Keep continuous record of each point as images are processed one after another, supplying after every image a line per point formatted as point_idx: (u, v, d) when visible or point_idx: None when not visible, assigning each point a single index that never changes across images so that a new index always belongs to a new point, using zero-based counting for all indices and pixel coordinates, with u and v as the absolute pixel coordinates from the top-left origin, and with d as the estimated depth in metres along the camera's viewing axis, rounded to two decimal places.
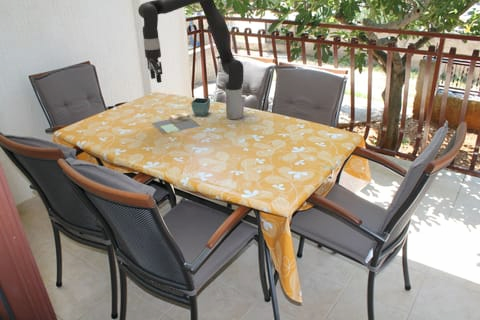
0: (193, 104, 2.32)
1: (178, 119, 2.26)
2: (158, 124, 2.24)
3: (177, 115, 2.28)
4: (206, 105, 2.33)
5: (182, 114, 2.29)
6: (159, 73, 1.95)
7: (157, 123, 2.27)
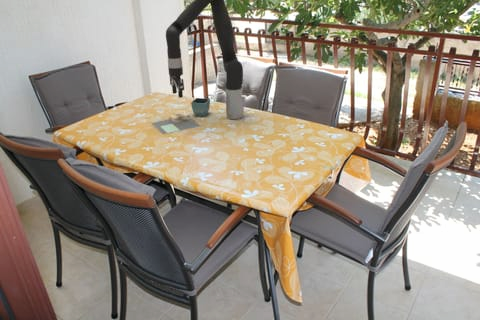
0: (193, 104, 2.32)
1: (178, 119, 2.26)
2: (158, 124, 2.24)
3: (177, 115, 2.28)
4: (206, 105, 2.33)
5: (182, 114, 2.29)
6: (181, 89, 2.15)
7: (157, 123, 2.27)
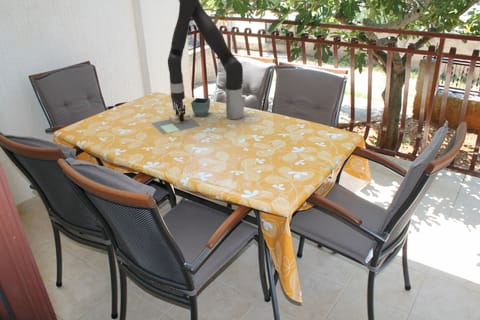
0: (193, 104, 2.32)
1: (178, 119, 2.26)
2: (158, 124, 2.24)
3: (177, 115, 2.28)
4: (206, 105, 2.33)
5: None
6: (182, 113, 2.23)
7: (157, 123, 2.27)
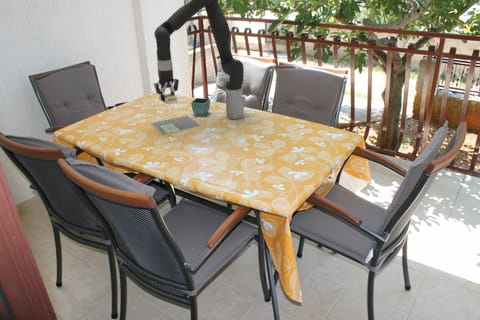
0: (193, 104, 2.32)
1: None
2: (158, 124, 2.24)
3: (166, 95, 2.14)
4: (206, 105, 2.33)
5: (170, 96, 2.13)
6: (157, 92, 2.09)
7: (157, 123, 2.27)
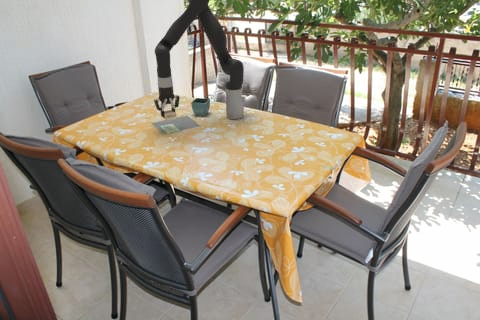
0: (193, 104, 2.32)
1: None
2: (158, 124, 2.24)
3: (167, 111, 2.15)
4: (206, 105, 2.33)
5: (170, 112, 2.13)
6: (157, 108, 2.11)
7: (157, 123, 2.27)
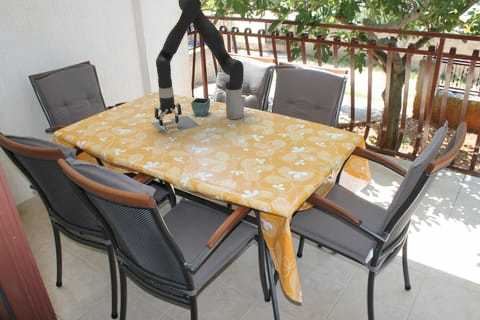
0: (193, 104, 2.32)
1: (163, 124, 2.18)
2: (158, 124, 2.24)
3: (168, 122, 2.18)
4: (206, 105, 2.33)
5: (171, 124, 2.16)
6: (155, 117, 2.13)
7: (157, 123, 2.27)
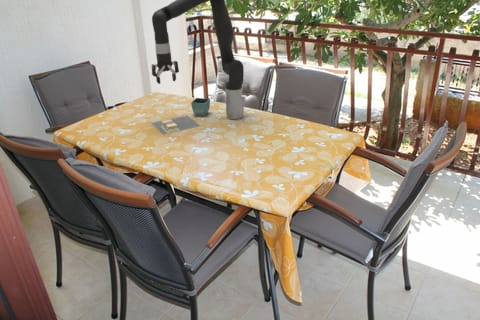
0: (193, 104, 2.32)
1: (163, 124, 2.18)
2: (158, 124, 2.24)
3: (168, 122, 2.18)
4: (206, 105, 2.33)
5: (171, 124, 2.16)
6: (152, 74, 2.12)
7: (157, 123, 2.27)
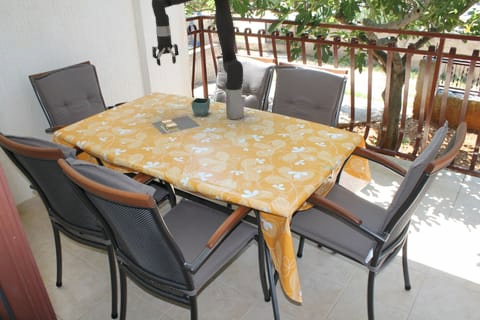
0: (193, 104, 2.32)
1: (163, 124, 2.18)
2: (158, 124, 2.24)
3: (168, 122, 2.18)
4: (206, 105, 2.33)
5: (171, 124, 2.16)
6: (153, 56, 2.20)
7: (157, 123, 2.27)
